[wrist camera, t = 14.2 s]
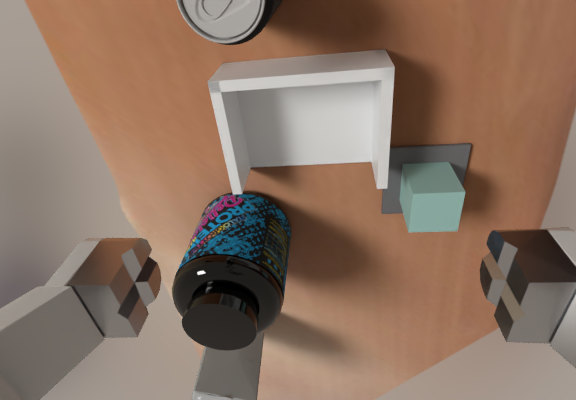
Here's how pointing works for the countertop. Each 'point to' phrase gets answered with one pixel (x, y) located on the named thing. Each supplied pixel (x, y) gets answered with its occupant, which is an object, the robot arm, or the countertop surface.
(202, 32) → the beverage can
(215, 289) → the container
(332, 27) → the countertop surface
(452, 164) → the mat
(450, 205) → the block
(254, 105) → the bin
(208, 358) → the skincare box
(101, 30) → the countertop surface
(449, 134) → the countertop surface
